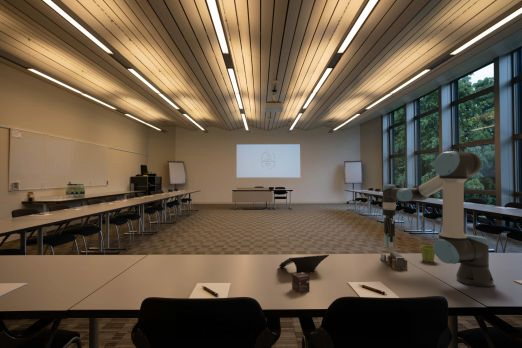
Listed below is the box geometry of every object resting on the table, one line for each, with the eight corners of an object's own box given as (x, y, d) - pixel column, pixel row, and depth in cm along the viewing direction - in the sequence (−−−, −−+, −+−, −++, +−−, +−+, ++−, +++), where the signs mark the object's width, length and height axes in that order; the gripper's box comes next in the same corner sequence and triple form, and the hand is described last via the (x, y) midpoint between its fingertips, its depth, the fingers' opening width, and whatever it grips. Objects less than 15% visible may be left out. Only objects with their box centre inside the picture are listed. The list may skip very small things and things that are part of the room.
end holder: (394, 258, 192) (393, 252, 192) (398, 262, 184) (398, 255, 184) (380, 258, 193) (380, 252, 193) (384, 262, 185) (384, 255, 185)
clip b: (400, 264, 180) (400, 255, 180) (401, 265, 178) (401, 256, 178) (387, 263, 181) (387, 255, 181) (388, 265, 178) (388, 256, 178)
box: (298, 293, 134) (298, 277, 134) (291, 289, 140) (291, 273, 140) (309, 291, 136) (309, 275, 137) (302, 287, 142) (302, 272, 142)
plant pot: (439, 261, 186) (439, 247, 187) (432, 263, 181) (432, 249, 181) (424, 258, 194) (424, 244, 194) (416, 260, 189) (416, 246, 189)
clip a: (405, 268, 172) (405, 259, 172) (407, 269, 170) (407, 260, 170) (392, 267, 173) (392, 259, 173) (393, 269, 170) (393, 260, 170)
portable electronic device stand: (314, 275, 178) (311, 259, 182) (332, 268, 158) (328, 250, 163) (277, 279, 171) (275, 263, 175) (292, 272, 152) (288, 253, 156)
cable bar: (396, 262, 182) (396, 252, 182) (404, 268, 170) (404, 257, 170) (389, 262, 182) (389, 252, 182) (396, 268, 170) (396, 257, 170)
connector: (391, 245, 191) (391, 233, 191) (394, 247, 186) (394, 234, 186) (383, 245, 191) (383, 232, 191) (386, 247, 186) (386, 234, 186)
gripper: (378, 207, 198) (378, 242, 198) (387, 210, 180) (387, 249, 180) (390, 207, 197) (390, 242, 197) (400, 210, 179) (400, 249, 179)
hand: (389, 245), depth 189 cm, fingers closed on connector, 5 cm apart
